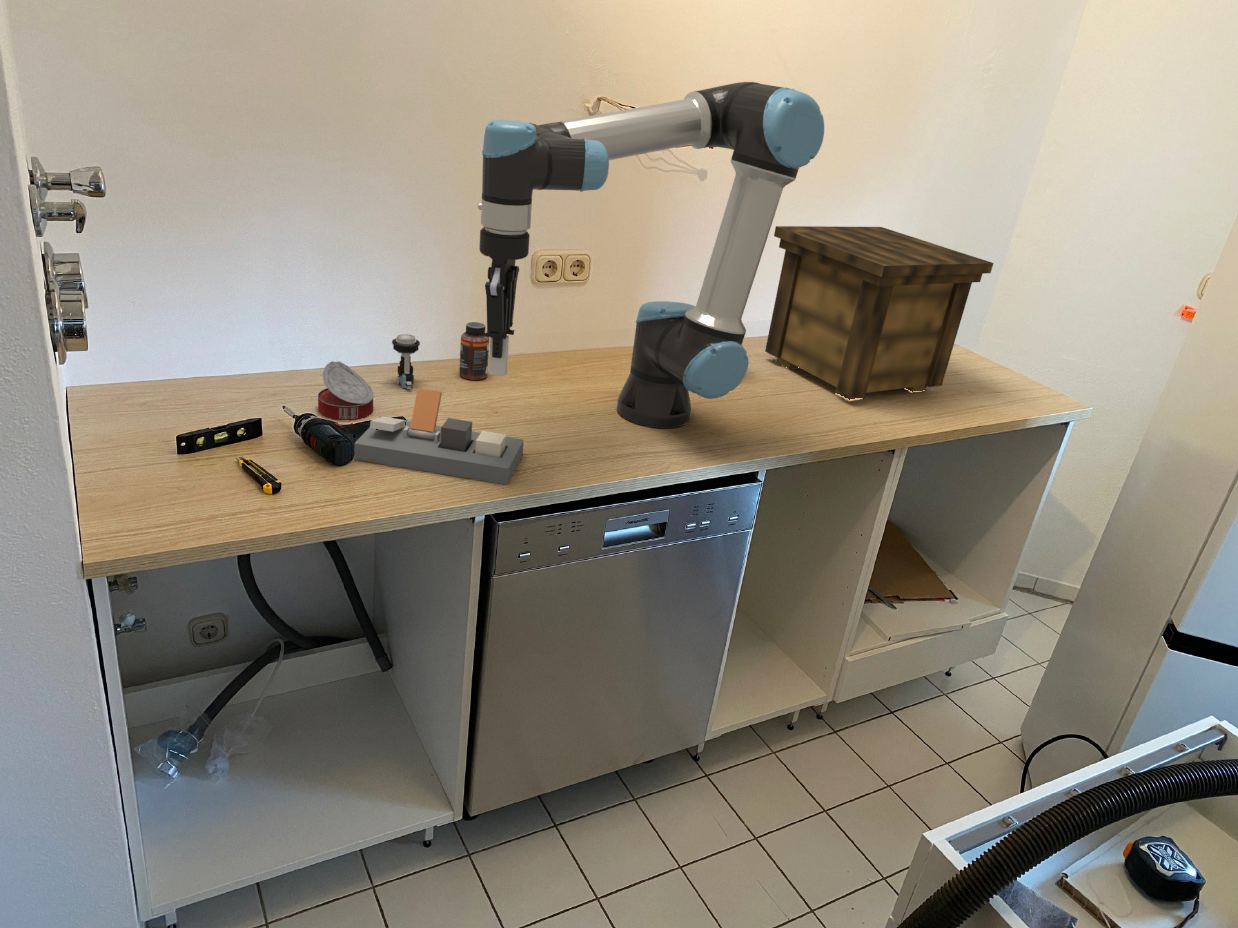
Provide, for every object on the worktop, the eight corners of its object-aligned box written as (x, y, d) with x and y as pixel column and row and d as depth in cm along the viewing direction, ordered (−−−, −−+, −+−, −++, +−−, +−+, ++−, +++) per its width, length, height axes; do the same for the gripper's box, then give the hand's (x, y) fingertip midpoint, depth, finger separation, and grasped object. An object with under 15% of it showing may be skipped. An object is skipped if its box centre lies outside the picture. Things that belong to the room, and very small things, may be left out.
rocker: (404, 426, 158) (405, 420, 157) (393, 431, 152) (393, 424, 152) (382, 423, 158) (382, 416, 158) (369, 427, 152) (370, 420, 152)
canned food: (353, 422, 176) (375, 375, 175) (370, 438, 168) (393, 389, 167) (298, 401, 168) (321, 353, 168) (313, 416, 161) (338, 366, 160)
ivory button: (504, 455, 157) (506, 434, 155) (498, 465, 153) (500, 444, 151) (480, 451, 157) (482, 430, 155) (474, 461, 153) (475, 440, 152)
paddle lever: (434, 439, 155) (443, 392, 156) (432, 439, 154) (441, 391, 154) (409, 435, 155) (418, 389, 156) (407, 434, 154) (416, 387, 155)
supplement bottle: (493, 376, 193) (496, 325, 189) (474, 383, 189) (477, 331, 184) (471, 369, 196) (474, 318, 191) (453, 375, 191) (455, 323, 186)
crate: (847, 411, 201) (884, 266, 187) (750, 357, 227) (775, 226, 213) (953, 397, 219) (993, 263, 205) (851, 348, 245) (881, 226, 231)
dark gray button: (471, 442, 157) (472, 421, 155) (464, 452, 153) (465, 431, 151) (447, 439, 157) (448, 417, 155) (440, 448, 153) (441, 427, 151)
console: (522, 455, 161) (524, 432, 159) (507, 484, 150) (509, 460, 148) (379, 431, 162) (380, 409, 160) (354, 459, 151) (354, 435, 149)
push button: (422, 391, 181) (423, 343, 177) (395, 392, 179) (396, 344, 175) (415, 379, 187) (416, 332, 182) (389, 379, 185) (389, 332, 180)
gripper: (491, 218, 144) (485, 358, 155) (469, 234, 133) (464, 384, 143) (537, 224, 144) (528, 364, 154) (520, 241, 132) (511, 391, 143)
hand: (497, 373), depth 149 cm, fingers closed
